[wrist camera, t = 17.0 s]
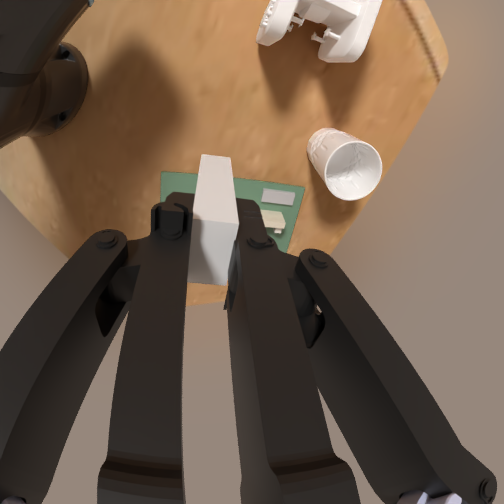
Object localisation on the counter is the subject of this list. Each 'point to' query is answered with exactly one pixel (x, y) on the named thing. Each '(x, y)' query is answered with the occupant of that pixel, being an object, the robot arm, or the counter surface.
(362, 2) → the cable organizer
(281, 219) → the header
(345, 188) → the white cup
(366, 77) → the counter surface
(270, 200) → the board
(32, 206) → the counter surface
